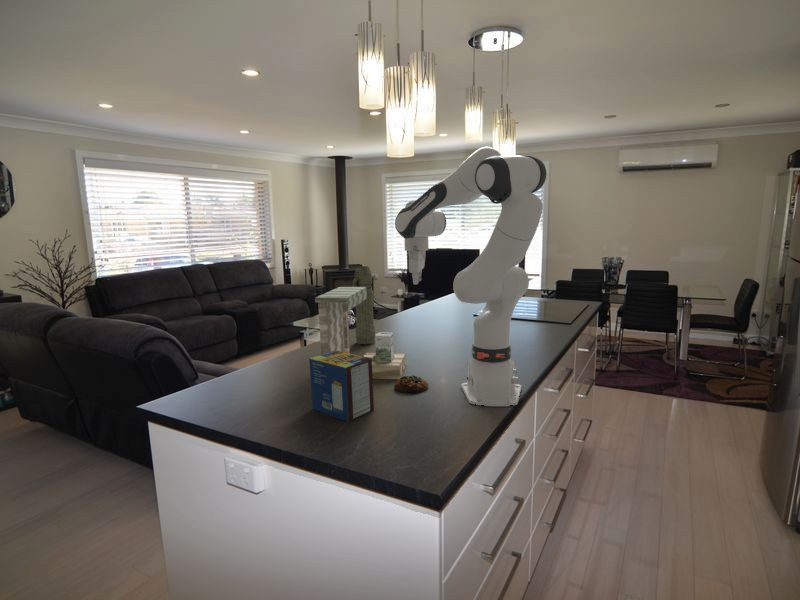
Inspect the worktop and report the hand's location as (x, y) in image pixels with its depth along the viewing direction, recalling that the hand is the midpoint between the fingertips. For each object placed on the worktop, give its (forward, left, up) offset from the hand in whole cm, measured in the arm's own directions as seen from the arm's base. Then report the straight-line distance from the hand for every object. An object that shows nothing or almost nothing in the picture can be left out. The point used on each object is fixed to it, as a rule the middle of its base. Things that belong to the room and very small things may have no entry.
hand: (417, 282), depth 168 cm
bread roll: (-27, -1, -32) cm, 42 cm away
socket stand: (-12, +18, -31) cm, 38 cm away
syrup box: (-12, +11, -31) cm, 35 cm away
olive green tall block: (+30, +28, -31) cm, 52 cm away
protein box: (-47, +17, -31) cm, 59 cm away
